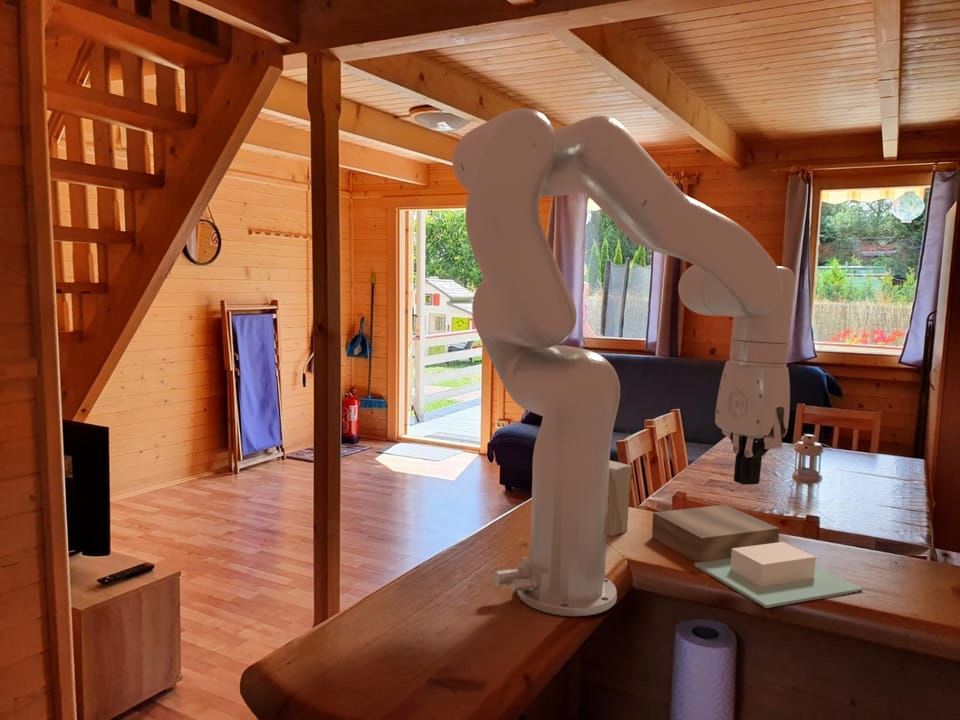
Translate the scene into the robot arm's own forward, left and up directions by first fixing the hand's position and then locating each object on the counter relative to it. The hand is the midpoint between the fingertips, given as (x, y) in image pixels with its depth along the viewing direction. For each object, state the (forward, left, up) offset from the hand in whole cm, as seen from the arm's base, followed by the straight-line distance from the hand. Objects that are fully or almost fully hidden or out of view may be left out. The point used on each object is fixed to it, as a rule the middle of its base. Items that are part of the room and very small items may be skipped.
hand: (746, 482), depth 100 cm
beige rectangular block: (+1, -5, -10) cm, 11 cm away
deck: (+1, +8, -12) cm, 14 cm away
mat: (+1, -5, -12) cm, 13 cm away
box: (-11, +19, -12) cm, 25 cm away
